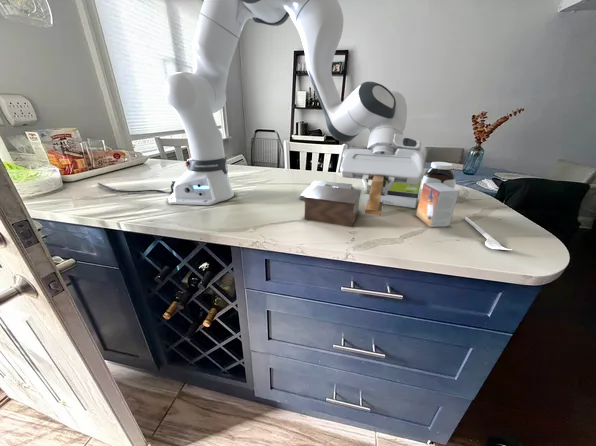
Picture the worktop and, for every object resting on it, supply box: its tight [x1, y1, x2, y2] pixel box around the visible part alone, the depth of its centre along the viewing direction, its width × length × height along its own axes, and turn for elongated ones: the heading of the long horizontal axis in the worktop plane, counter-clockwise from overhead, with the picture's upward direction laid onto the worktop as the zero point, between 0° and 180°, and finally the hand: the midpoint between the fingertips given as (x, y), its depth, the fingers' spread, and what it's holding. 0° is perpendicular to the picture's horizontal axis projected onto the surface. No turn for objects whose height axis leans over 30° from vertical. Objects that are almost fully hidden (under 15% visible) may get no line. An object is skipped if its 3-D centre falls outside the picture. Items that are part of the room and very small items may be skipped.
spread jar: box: [421, 161, 457, 189], centre depth 92 cm, size 12×11×12 cm
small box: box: [415, 183, 460, 228], centre depth 69 cm, size 8×6×10 cm
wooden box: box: [304, 185, 362, 227], centre depth 74 cm, size 14×12×7 cm
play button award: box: [300, 180, 353, 201], centre depth 94 cm, size 16×2×20 cm
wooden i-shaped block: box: [364, 175, 384, 217], centre depth 62 cm, size 4×7×9 cm, turn 159°
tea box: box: [380, 180, 422, 209], centre depth 83 cm, size 15×10×15 cm, turn 65°
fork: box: [463, 216, 514, 251], centre depth 63 cm, size 3×20×2 cm, turn 170°
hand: (375, 193), depth 61 cm, fingers closed on wooden i-shaped block, 3 cm apart
